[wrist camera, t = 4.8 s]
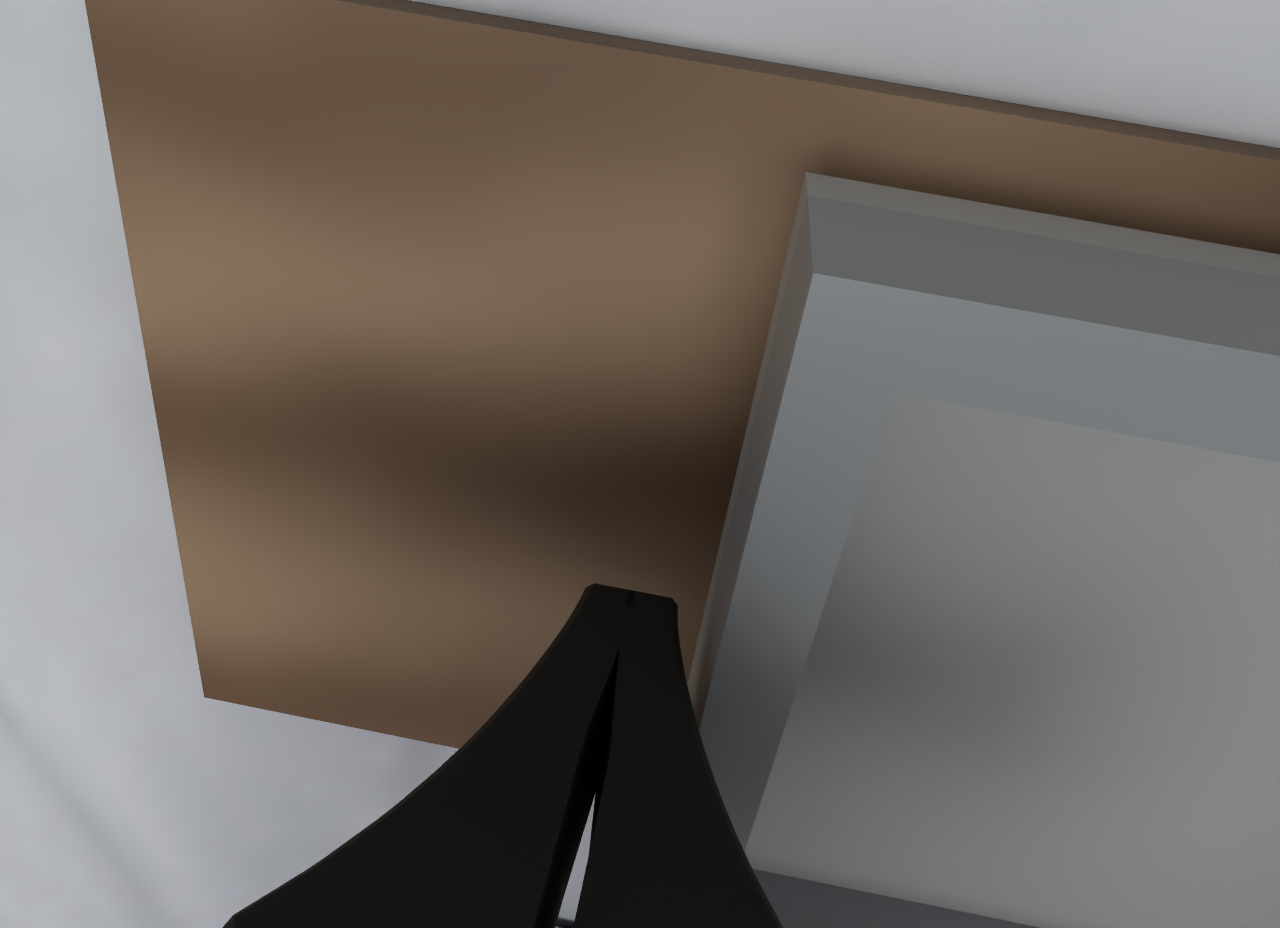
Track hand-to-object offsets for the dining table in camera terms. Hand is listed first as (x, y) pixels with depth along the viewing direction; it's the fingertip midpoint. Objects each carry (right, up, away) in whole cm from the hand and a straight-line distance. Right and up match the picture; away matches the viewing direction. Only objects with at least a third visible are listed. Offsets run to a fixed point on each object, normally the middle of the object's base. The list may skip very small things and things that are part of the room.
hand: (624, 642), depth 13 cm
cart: (+7, 0, +2) cm, 8 cm away
